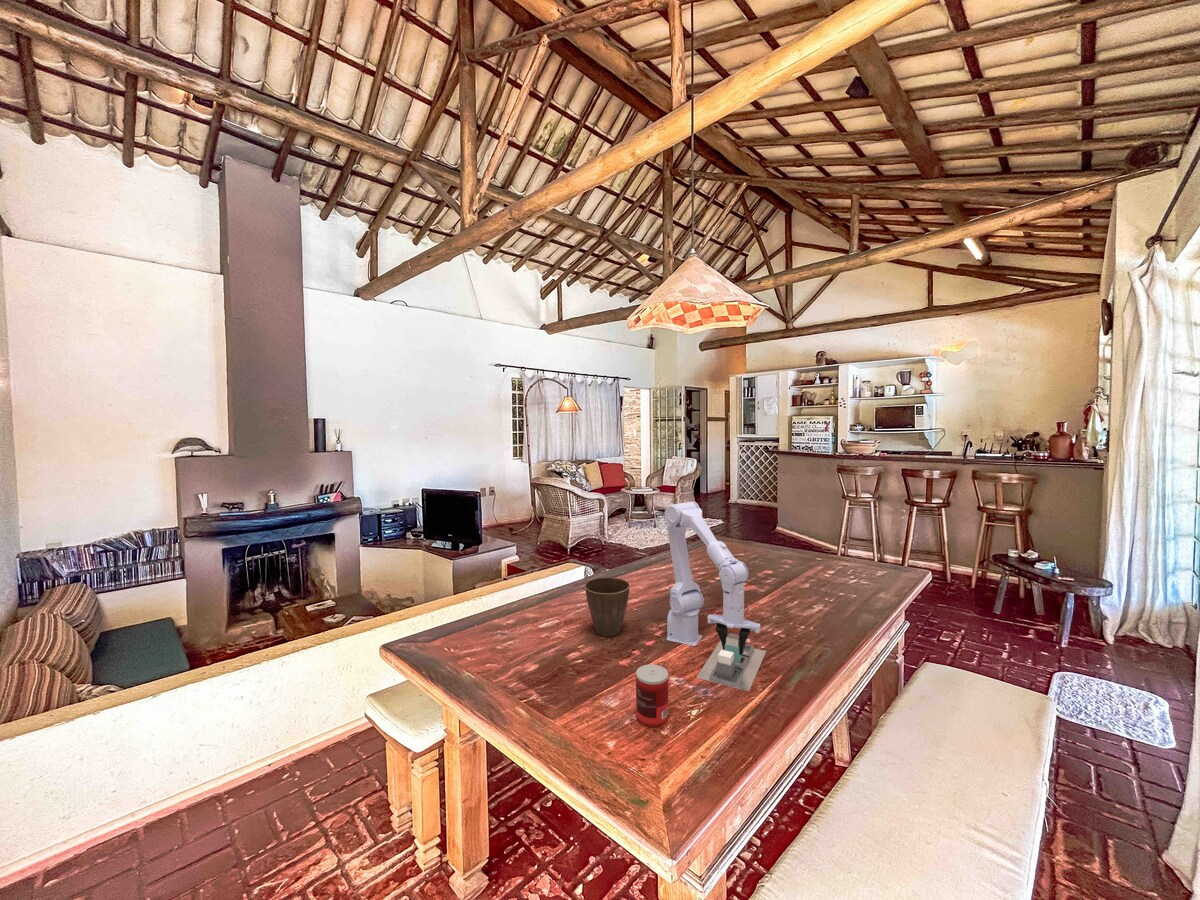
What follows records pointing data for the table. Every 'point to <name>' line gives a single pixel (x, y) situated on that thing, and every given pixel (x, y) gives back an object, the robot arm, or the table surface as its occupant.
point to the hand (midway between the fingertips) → (733, 651)
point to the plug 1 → (733, 646)
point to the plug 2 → (726, 665)
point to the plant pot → (607, 603)
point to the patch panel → (743, 669)
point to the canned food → (652, 695)
